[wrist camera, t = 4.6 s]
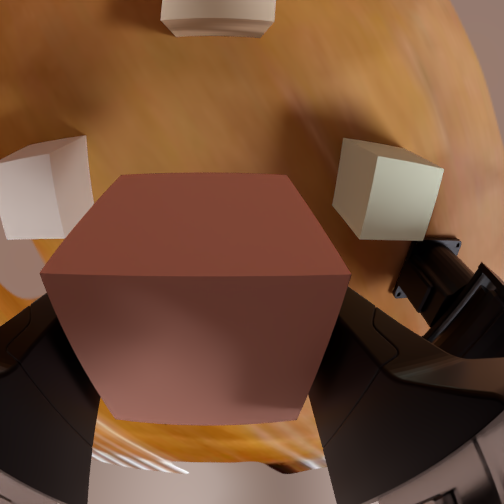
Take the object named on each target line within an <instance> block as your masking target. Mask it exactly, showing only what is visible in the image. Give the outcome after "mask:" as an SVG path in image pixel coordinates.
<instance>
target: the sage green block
mask: <svg viewBox="0 0 504 504" xmlns="http://www.w3.org/2000/svg"><path fill="white" fill-rule="evenodd" d="M443 171H444V169H443V168H441V167H439V166H437V165H436V164H434V163H432V162H430V161H428V160H426V159H424V158H422V157H420V156H418V155H416V154H414V153H412V152H410V151H408V150H406V149H404V148H400V147H395V146H390V145H385V144H379V143H374V142H368V141H362V140H355V139H349V138H343V142H342V149H341V156H340V162H339V169H338V175H337V181H336V187H335V192H334V198H333V203H332V206H333V207H334V208H335V210H336V211H337V212H338V213H339V214H340V216H341V217H342V218H343V219H344V221H345V222H346V223H347V224H348V226H349V227H350V228H351V229H352V231H353V232H354V233H355V235H356V236H357V237H358V238H359V239H362V240H407V241H423V239H424V236H425V233H426V230H427V227H428V224H429V221H430V218H431V215H432V212H433V208H434V205H435V201H436V198H437V194H438V191H439V187H440V183H441V179H442V175H443Z"/></svg>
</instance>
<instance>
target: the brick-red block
mask: <svg viewBox="0 0 504 504" xmlns="http://www.w3.org/2000/svg"><path fill="white" fill-rule="evenodd" d="M40 275H41V278H42V281H43V284H44V286H45V289H46V291H47V294H48V296H49V299H50V301H51V304H52V306H53V308H54V311H55V313H56V315H57V317H58V320H59V322H60V324H61V326H62V328H63V330H64V332H65V334H66V336H67V338H68V340H69V342H70V344H71V346H72V348H73V350H74V352H75V354H76V356H77V358H78V359H79V361H80V363H81V365H82V367H83V368H84V370H85V372H86V374H87V375H88V377H89V379H90V380H91V382H92V384H93V385H94V387H95V389H96V390H97V392H98V393H99V395H100V397H101V398H102V400H103V401H104V403H105V404H106V406H107V407H108V409H109V410H110V412H111V413H112V415H113V416H114V418H115V419H119V420H127V421H136V422H147V423H159V424H177V425H241V424H258V423H271V422H282V421H291V420H297V418H298V416H299V414H300V411H301V409H302V407H303V405H304V402H305V400H306V398H307V395H308V393H309V391H310V388H311V386H312V384H313V381H314V379H315V376H316V374H317V371H318V369H319V366H320V364H321V361H322V359H323V356H324V353H325V351H326V348H327V345H328V343H329V340H330V337H331V334H332V332H333V329H334V326H335V323H336V320H337V317H338V315H339V312H340V309H341V306H342V303H343V300H344V296H345V293H346V290H347V287H348V284H349V281H350V277H351V273H350V271H349V270H348V268H347V266H346V265H345V263H344V261H343V260H342V258H341V256H340V255H339V253H338V252H337V250H336V248H335V247H334V245H333V244H332V242H331V240H330V239H329V237H328V236H327V234H326V233H325V231H324V230H323V228H322V226H321V225H320V223H319V222H318V220H317V219H316V217H315V216H314V214H313V213H312V211H311V210H310V208H309V207H308V205H307V204H306V202H305V201H304V199H303V198H302V196H301V195H300V193H299V192H298V191H297V189H296V188H295V186H294V185H293V183H292V182H291V180H290V179H289V178H288V176H287V175H278V174H253V173H155V174H131V175H121V176H120V177H119V178H118V179H117V180H116V181H115V182H114V183H113V184H112V185H111V186H110V187H109V188H108V189H107V190H106V192H105V193H104V194H103V195H102V196H101V197H100V198H99V199H98V200H97V201H96V203H95V204H94V205H93V206H92V207H91V208H90V209H89V211H88V212H87V213H86V214H85V215H84V216H83V217H82V219H81V220H80V221H79V222H78V223H77V225H76V226H75V227H74V228H73V230H72V231H71V232H70V233H69V234H68V236H67V237H66V238H65V240H64V241H63V242H62V243H61V245H60V246H59V247H58V249H57V250H56V251H55V253H54V254H53V255H52V257H51V258H50V259H49V261H48V262H47V263H46V265H45V266H44V268H43V269H42V271H41V272H40Z"/></svg>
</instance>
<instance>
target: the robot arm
mask: <svg viewBox="0 0 504 504" xmlns="http://www.w3.org/2000/svg"><path fill="white" fill-rule="evenodd" d="M460 247H461V241H460V240H459V239H450V238H426V237H424V239H423V241H412V243H411V246H410V249H409V252H408V255H407V257H406V260H405V263H404V265H403V268H402V271H401V273H400V276H399V278H398V281H397V284H396V286H395V288H394V291H393V296H394V297H395V298H408V299H409V301H410V302H411V304H412V305H413V307H414V308H415V309H416V311H417V312H418V313H421V315H422V316H423V318H424V319H425V321H426V322H427V324H428V325H429V327H431V328H430V329H429V330H428V331H427V333H426V334H425V335H424V336H422V337H421V336H419V335H417V334H416V333H414V332H413V331H411V330H410V329H408V328H406V327H405V326H403V325H402V324H400V323H399V322H397V321H396V320H394V319H393V318H391V317H390V316H389V315H387V314H386V313H384V312H383V311H382V310H380V309H379V308H377V307H376V308H375V305H373V304H372V303H371V302H369V301H368V300H366V299H365V298H364V297H362V296H361V295H359V294H358V293H357V292H355V291H354V290H352V289H351V288H350V287H347V290H346V293H345V296H344V300H343V303H342V306H341V309H340V312H339V315H338V317H337V320H336V323H335V326H334V329H333V332H332V334H331V337H330V340H329V343H328V345H327V348H326V351H325V353H324V356H323V359H322V361H321V364H320V366H319V369H318V371H317V374H316V376H315V379H314V381H313V384H312V386H311V388H310V391H309V393H308V395H309V399H310V402H311V406H312V410H313V413H314V417H315V421H316V425H317V428H318V432H319V436H320V440H321V443H322V447H323V448H324V449H323V452H324V455H325V459H326V463H327V467H328V471H329V475H330V479H331V483H332V486H333V490H334V494H335V498H336V502H337V504H370V503H373V502H376V501H379V504H504V282H503V281H502V280H501V279H500V278H499V277H498V276H497V275H496V274H495V273H494V272H493V271H492V270H490V269H489V268H488V267H487V266H486V265H485V264H483V263H482V262H481V264H480V265H479V266H478V270H477V271H476V272H475V274H474V273H473V272H472V271H471V270H470V269H469V268H468V267H467V266H466V265H465V264H464V263H463V262H462V261H461V260H460V259H459V258H458V257H457V254H458V252H459V249H460ZM99 402H100V395H99V393H98V392H97V390H96V389H95V387H94V385H93V384H92V382H91V380H90V379H89V377H88V375H87V374H86V372H85V370H84V368H83V367H82V365H81V363H80V361H79V359H78V358H77V356H76V354H75V352H74V350H73V348H72V346H71V344H70V342H69V340H68V338H67V336H66V334H65V332H64V330H63V328H62V326H61V324H60V322H59V320H58V317H57V315H56V313H55V311H54V308H53V306H52V304H51V301H50V299H49V296H48V294H47V293H46V294H44V295H43V296H42V297H40V298H39V299H37V300H36V301H35V302H33V303H32V304H31V305H30V306H28V307H26V308H25V309H24V310H23V311H21V312H20V313H19V314H17V315H16V316H14V317H13V318H12V319H10V320H9V321H8V322H6V323H5V324H3V325H2V326H0V504H57V503H60V504H87V502H88V486H89V475H90V465H91V456H92V446H93V439H94V432H95V426H96V419H97V413H98V408H99Z"/></svg>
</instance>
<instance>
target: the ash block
mask: <svg viewBox="0 0 504 504" xmlns="http://www.w3.org/2000/svg"><path fill="white" fill-rule="evenodd" d="M275 5H276V0H162V9H161V19H160V20H161V22H162V23H163V24H164V25H165V26H166V27H167V28H168V29H169V30H170V31H171V32H172V33H173V34H174V35H175V36H176V37H183V36H237V37H254V38H261V37H262V35H263V34H264V33H265V32H266V31H267V29H268V28H269V27H270V26H271V25H272V24H273V23H274V19H275Z"/></svg>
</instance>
